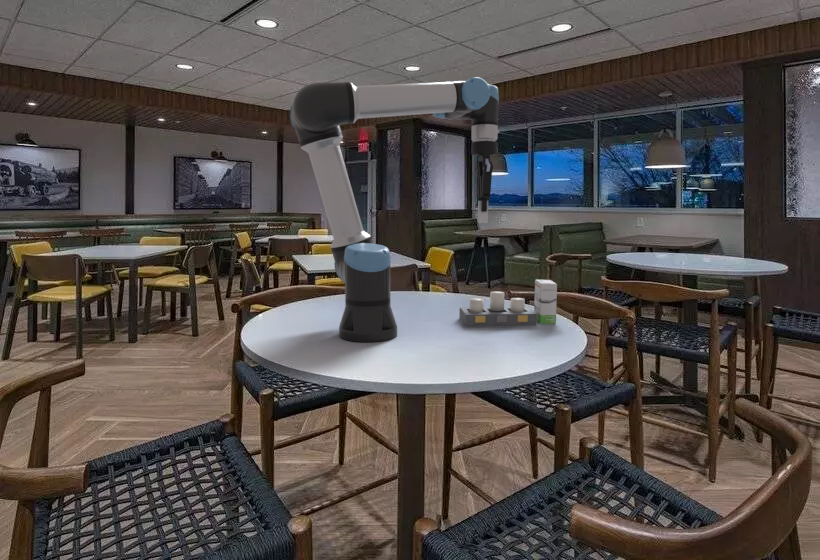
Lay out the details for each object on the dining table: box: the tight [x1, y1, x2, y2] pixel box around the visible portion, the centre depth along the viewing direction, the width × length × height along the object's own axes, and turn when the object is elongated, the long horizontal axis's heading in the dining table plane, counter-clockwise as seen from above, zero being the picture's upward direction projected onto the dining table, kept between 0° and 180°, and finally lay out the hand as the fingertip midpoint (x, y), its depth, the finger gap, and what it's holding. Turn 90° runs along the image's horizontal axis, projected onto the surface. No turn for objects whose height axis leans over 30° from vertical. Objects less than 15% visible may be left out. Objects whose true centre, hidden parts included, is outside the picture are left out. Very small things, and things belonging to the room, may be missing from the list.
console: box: [458, 305, 537, 328], centre depth 150 cm, size 20×11×4 cm, turn 94°
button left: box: [469, 297, 485, 312], centre depth 150 cm, size 4×4×5 cm
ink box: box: [533, 279, 558, 325], centre depth 152 cm, size 9×5×12 cm, turn 178°
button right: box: [510, 297, 526, 312], centre depth 150 cm, size 4×4×5 cm
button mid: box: [489, 291, 505, 311], centre depth 150 cm, size 4×4×5 cm
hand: (482, 222), depth 154 cm, fingers closed
